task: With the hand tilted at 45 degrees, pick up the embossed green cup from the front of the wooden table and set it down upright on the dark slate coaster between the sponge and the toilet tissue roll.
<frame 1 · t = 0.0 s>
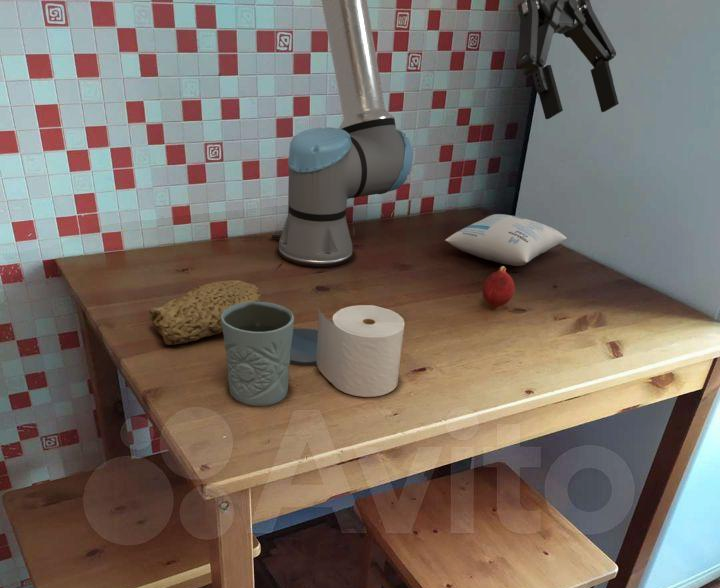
hand: (583, 111, 114), 36 cm above the table, tool tilted 35°, fingers open, 13 cm apart
coaster: (304, 347, 124), on the table
pouch: (503, 257, 164), on the table
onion: (494, 309, 142), on the table
embossed green cup: (258, 391, 112), on the table
toilet tissue: (359, 381, 117), on the table
sponge: (211, 327, 127), on the table
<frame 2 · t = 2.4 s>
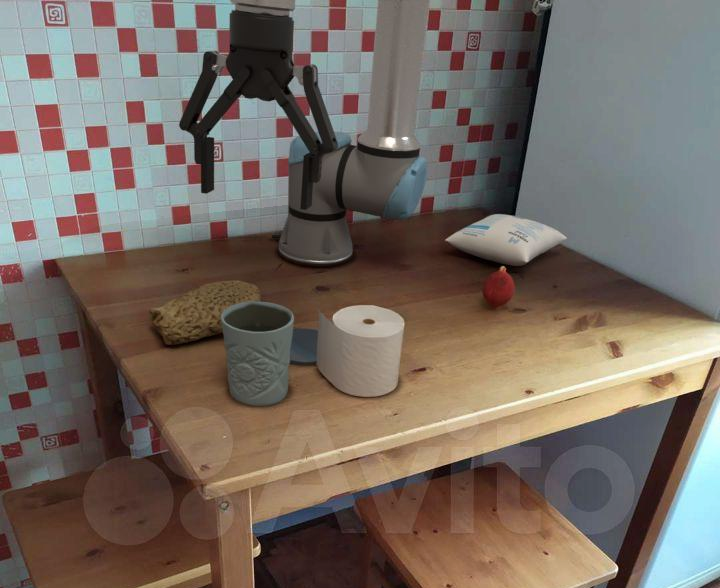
hand: (256, 199, 100), 26 cm above the table, tool pointing down, fingers open, 13 cm apart
nothing on the table moved.
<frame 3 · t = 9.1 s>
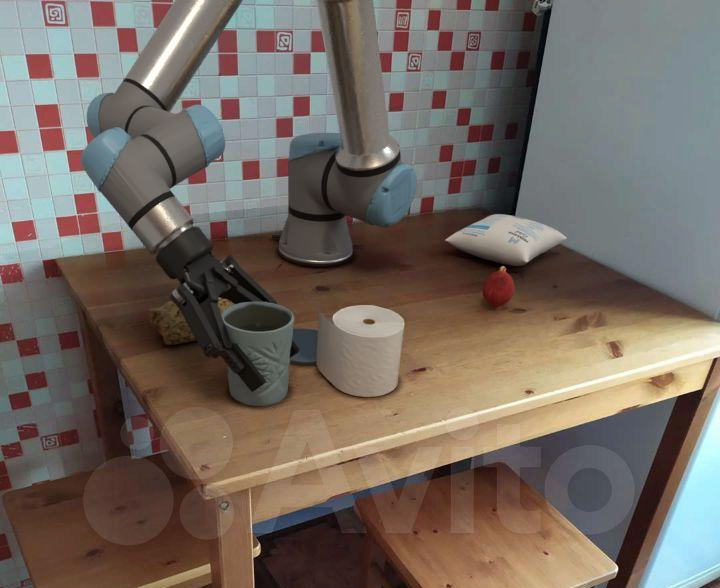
hand: (276, 370, 109), 4 cm above the table, tool tilted 45°, fingers closed on embossed green cup, 10 cm apart
embossed green cup: (258, 391, 112), on the table, touching gripper
everything else where it was.
when the fingers open (5 cm above the table, at t = 17.4 s): embossed green cup stays where it is, resting on coaster.
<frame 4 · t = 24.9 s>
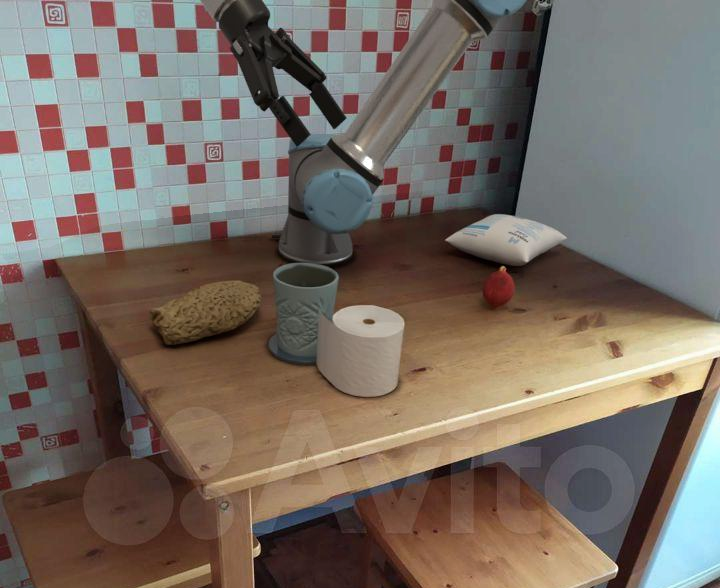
hand: (323, 132, 118), 30 cm above the table, tool tilted 45°, fingers open, 13 cm apart
embossed green cup: (303, 345, 124), resting on coaster
everything else where it was.
at the end: embossed green cup inside the target area (0.3 cm from its centre), resting on coaster; embossed green cup tilted 0°; toilet tissue moved 0.2 cm from its start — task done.
